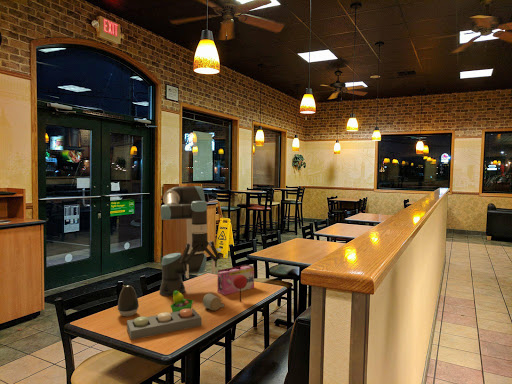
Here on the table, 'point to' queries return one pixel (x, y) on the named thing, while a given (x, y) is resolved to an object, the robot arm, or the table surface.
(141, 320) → the sage button
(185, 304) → the fruit basket
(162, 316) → the cream button
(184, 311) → the terracotta button
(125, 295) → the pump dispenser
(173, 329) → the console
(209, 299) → the ceramic mug
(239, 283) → the lollipop
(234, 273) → the gum box
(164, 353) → the table surface
